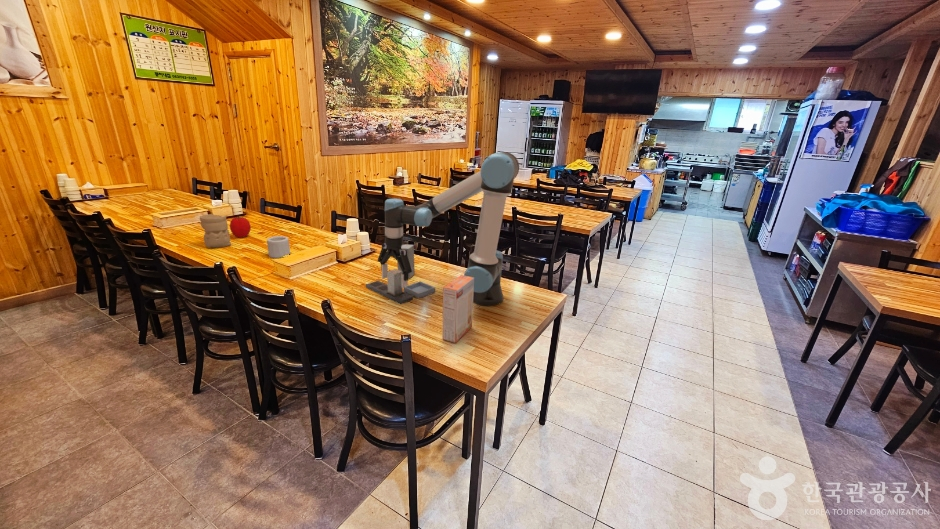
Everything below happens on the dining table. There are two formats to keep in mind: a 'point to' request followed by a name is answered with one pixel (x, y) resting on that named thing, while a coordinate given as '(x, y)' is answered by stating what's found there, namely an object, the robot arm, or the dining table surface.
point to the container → (215, 230)
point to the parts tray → (419, 289)
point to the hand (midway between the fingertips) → (394, 282)
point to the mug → (278, 246)
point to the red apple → (240, 227)
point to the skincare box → (411, 258)
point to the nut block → (394, 282)
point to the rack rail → (383, 290)
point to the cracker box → (457, 308)
